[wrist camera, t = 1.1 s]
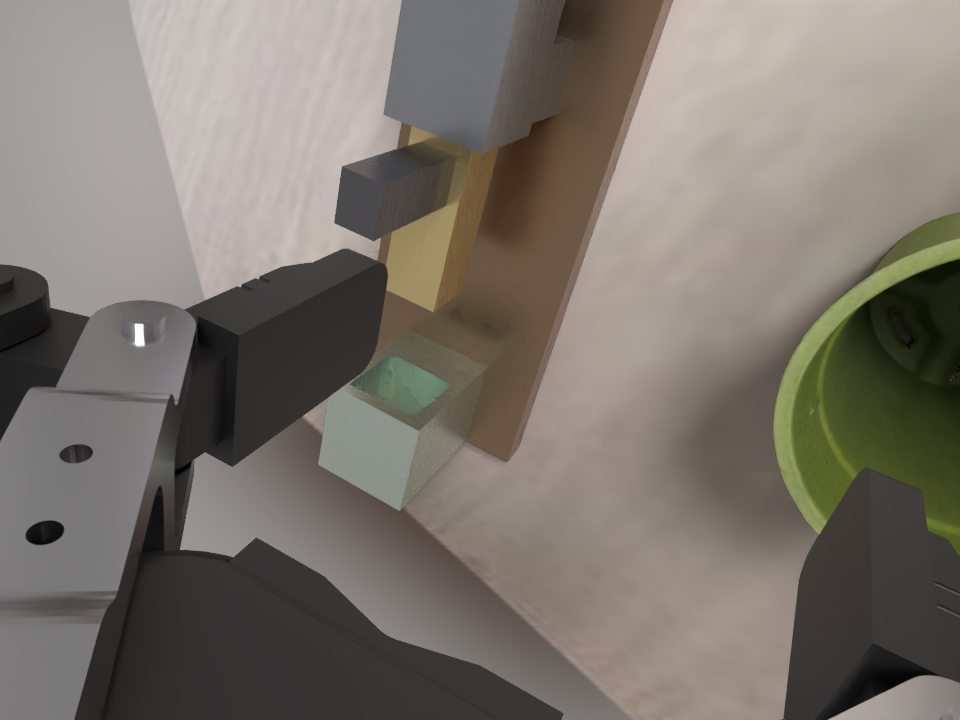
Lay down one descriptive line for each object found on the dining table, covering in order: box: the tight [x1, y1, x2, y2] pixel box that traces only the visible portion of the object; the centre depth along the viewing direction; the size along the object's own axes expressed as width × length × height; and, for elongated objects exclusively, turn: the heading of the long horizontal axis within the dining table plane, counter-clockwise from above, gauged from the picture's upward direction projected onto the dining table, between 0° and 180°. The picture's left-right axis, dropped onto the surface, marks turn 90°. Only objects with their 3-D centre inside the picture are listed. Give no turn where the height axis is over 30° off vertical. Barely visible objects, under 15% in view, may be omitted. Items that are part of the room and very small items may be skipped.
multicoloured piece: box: [318, 0, 673, 511], centre depth 31 cm, size 30×10×8 cm, turn 165°
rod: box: [334, 126, 499, 312], centre depth 25 cm, size 19×3×8 cm, turn 165°
